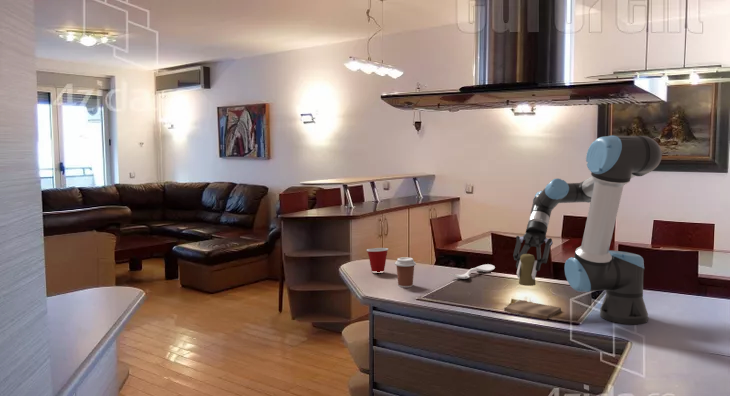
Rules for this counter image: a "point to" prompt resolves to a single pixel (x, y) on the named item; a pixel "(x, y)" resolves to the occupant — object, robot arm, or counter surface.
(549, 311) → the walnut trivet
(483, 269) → the spoon
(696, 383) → the counter surface
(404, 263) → the coffee cup
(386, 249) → the plastic cup
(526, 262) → the cork
